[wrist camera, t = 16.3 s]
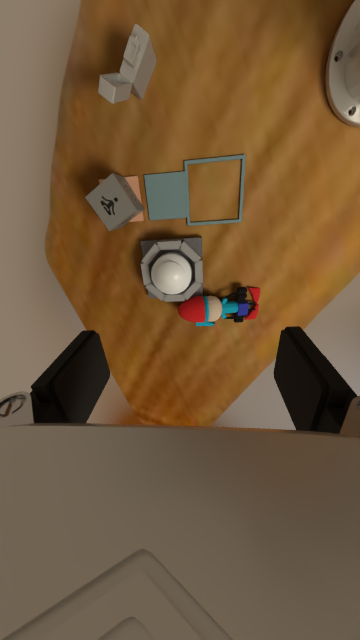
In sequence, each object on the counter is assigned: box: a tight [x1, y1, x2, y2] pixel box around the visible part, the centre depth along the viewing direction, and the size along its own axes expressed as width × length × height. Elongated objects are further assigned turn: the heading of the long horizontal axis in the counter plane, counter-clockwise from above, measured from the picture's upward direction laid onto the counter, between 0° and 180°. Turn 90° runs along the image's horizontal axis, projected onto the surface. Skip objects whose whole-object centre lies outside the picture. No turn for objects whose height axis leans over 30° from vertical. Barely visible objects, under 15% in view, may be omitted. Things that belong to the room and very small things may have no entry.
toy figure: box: [178, 287, 260, 326], centre depth 39 cm, size 8×5×15 cm
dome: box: [151, 252, 192, 294], centre depth 35 cm, size 6×6×4 cm
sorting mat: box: [99, 155, 246, 226], centre depth 32 cm, size 21×8×1 cm, turn 94°
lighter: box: [98, 24, 157, 103], centre depth 24 cm, size 7×2×8 cm, turn 148°
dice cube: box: [85, 173, 145, 231], centre depth 31 cm, size 5×5×5 cm
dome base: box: [141, 237, 203, 302], centre depth 36 cm, size 10×10×3 cm
